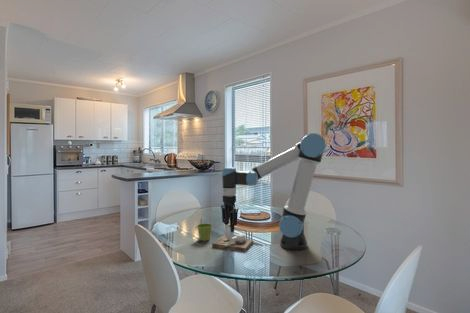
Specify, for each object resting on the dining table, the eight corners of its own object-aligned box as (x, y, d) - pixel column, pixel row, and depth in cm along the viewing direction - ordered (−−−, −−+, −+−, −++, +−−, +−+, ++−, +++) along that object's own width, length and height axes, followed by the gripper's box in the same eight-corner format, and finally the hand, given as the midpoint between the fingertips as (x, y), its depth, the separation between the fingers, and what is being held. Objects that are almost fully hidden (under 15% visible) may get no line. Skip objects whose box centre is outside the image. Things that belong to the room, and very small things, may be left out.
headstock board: (253, 243, 159) (253, 239, 159) (244, 253, 145) (244, 248, 144) (222, 239, 166) (222, 235, 166) (210, 248, 152) (210, 244, 152)
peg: (241, 238, 161) (241, 220, 160) (247, 241, 156) (247, 222, 156) (221, 244, 152) (220, 224, 151) (226, 247, 147) (226, 227, 147)
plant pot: (198, 242, 161) (197, 228, 160) (196, 237, 170) (195, 224, 169) (213, 241, 163) (213, 227, 163) (210, 236, 172) (210, 222, 172)
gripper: (215, 193, 155) (216, 234, 155) (232, 197, 142) (233, 241, 143) (226, 192, 159) (226, 231, 160) (243, 196, 147) (243, 238, 148)
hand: (229, 236), depth 152 cm, fingers closed on peg, 3 cm apart
